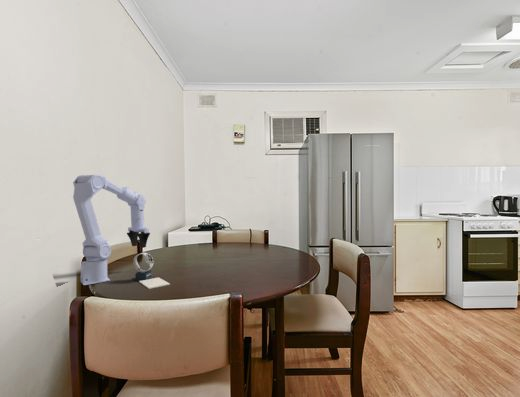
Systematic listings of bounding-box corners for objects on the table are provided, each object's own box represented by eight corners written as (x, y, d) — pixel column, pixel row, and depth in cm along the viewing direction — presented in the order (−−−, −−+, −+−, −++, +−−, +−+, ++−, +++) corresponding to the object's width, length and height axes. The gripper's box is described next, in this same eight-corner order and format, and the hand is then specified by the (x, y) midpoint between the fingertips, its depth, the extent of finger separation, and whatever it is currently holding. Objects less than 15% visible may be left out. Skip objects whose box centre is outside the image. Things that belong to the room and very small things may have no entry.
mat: (149, 289, 104) (149, 287, 104) (139, 282, 113) (139, 281, 113) (169, 284, 109) (169, 283, 109) (158, 278, 118) (158, 277, 118)
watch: (150, 280, 114) (150, 254, 115) (131, 280, 115) (131, 254, 115) (155, 277, 120) (155, 251, 120) (137, 277, 120) (137, 251, 120)
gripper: (153, 218, 134) (155, 246, 135) (136, 217, 143) (138, 243, 143) (140, 220, 128) (141, 249, 129) (123, 219, 137) (124, 246, 137)
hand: (138, 246), depth 136 cm, fingers open, 7 cm apart
